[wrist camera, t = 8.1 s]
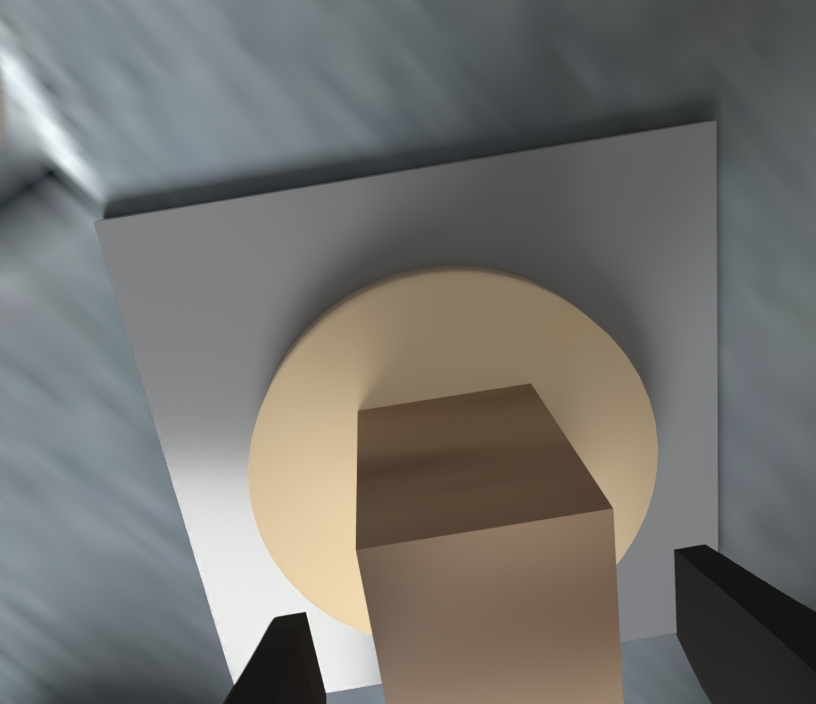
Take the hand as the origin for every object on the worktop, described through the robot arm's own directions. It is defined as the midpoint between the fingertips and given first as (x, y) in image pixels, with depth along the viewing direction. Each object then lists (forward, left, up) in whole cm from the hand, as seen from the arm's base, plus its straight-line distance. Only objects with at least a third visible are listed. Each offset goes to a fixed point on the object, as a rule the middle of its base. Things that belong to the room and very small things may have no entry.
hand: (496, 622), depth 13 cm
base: (0, 0, -8) cm, 8 cm away
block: (0, 0, -5) cm, 5 cm away
